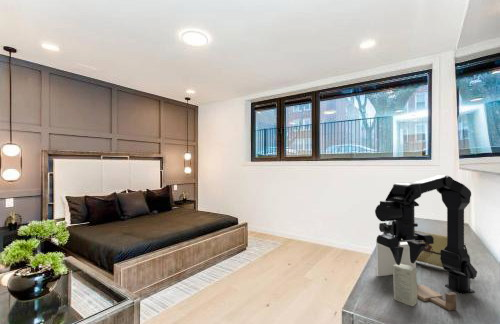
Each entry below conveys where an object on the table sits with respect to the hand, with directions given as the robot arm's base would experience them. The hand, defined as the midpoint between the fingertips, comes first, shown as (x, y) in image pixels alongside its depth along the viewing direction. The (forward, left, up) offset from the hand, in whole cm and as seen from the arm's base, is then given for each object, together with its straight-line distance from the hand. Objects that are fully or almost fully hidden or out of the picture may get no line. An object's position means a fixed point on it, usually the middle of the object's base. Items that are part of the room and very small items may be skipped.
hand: (405, 263), depth 86 cm
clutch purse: (-35, -23, -13) cm, 44 cm away
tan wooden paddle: (-10, -2, -13) cm, 16 cm away
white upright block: (-10, -14, -13) cm, 22 cm away
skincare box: (0, 0, -13) cm, 13 cm away
